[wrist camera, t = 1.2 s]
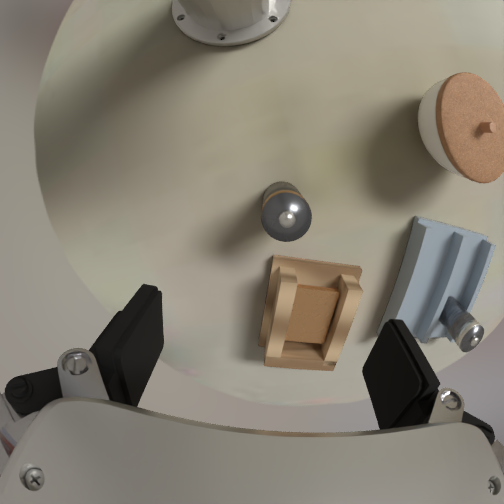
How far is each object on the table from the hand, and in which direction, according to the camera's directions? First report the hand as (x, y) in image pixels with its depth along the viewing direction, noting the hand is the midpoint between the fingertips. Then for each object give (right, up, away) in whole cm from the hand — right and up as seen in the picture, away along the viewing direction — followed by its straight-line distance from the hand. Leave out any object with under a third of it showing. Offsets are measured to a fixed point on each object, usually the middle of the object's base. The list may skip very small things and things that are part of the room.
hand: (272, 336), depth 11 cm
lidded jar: (+21, +17, +13) cm, 30 cm away
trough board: (+23, -1, +19) cm, 30 cm away
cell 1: (+2, +9, +17) cm, 19 cm away
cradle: (+6, -3, +21) cm, 22 cm away
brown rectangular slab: (+6, -3, +19) cm, 20 cm away
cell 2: (+26, -4, +20) cm, 33 cm away
